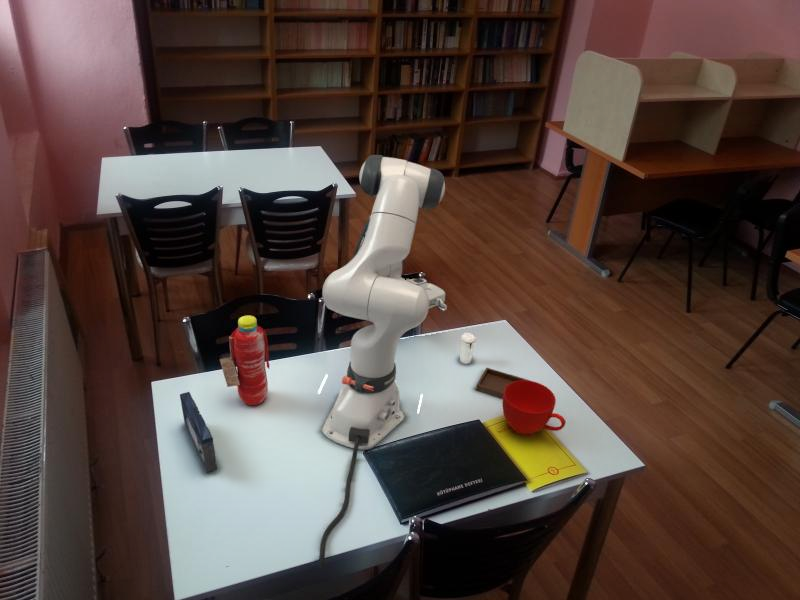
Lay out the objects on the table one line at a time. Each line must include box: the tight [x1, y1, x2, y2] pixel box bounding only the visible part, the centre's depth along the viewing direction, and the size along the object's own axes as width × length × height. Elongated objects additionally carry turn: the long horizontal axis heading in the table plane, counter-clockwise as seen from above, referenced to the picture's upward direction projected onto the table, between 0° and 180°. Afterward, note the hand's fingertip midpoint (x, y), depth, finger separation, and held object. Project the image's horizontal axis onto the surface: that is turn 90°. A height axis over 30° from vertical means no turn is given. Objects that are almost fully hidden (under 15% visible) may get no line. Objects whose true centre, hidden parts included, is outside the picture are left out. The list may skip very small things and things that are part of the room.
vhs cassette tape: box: [179, 391, 218, 473], centre depth 143 cm, size 18×3×10 cm, turn 30°
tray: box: [475, 367, 531, 399], centre depth 171 cm, size 9×15×2 cm, turn 66°
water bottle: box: [219, 315, 270, 406], centre depth 155 cm, size 12×8×25 cm, turn 108°
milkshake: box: [459, 332, 477, 365], centre depth 179 cm, size 4×5×10 cm
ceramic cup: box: [502, 379, 566, 436], centre depth 155 cm, size 13×17×10 cm
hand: (433, 313), depth 182 cm, fingers open, 8 cm apart
